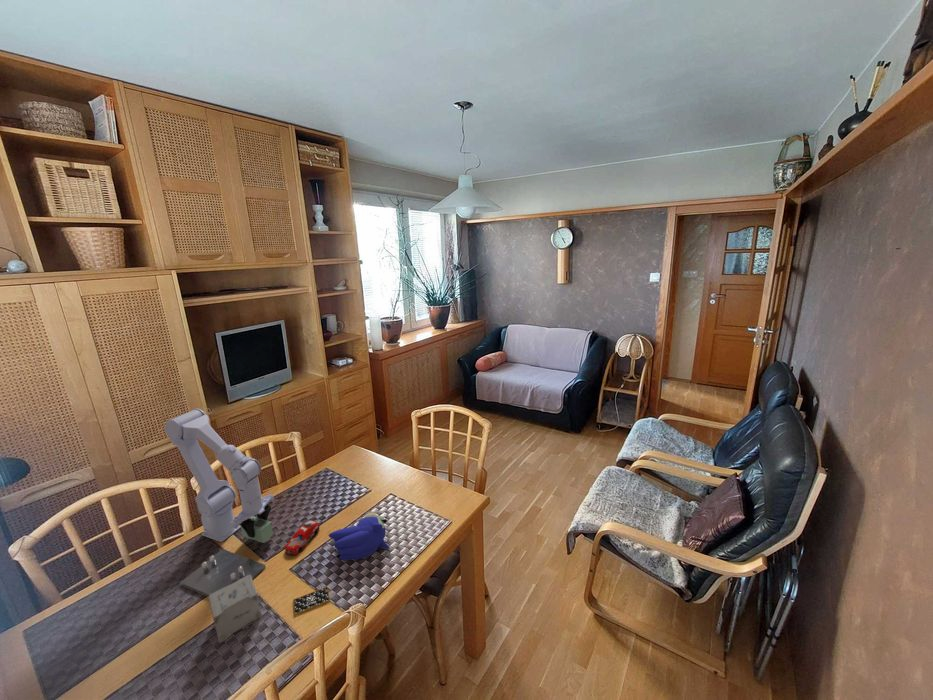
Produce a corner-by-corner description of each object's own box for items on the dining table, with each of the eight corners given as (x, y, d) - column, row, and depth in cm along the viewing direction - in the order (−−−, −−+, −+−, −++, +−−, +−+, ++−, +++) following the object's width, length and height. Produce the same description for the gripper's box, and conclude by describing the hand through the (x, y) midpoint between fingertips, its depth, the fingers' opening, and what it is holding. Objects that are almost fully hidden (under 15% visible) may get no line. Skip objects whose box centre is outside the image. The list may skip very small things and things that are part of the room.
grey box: (219, 648, 90) (211, 615, 87) (214, 623, 96) (206, 591, 93) (264, 622, 96) (257, 590, 93) (256, 600, 102) (250, 570, 99)
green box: (242, 535, 122) (239, 521, 120) (253, 527, 126) (250, 513, 124) (263, 542, 119) (260, 528, 117) (273, 534, 123) (270, 519, 121)
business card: (293, 614, 97) (293, 598, 101) (294, 617, 97) (293, 602, 102) (329, 599, 101) (327, 585, 105) (330, 602, 101) (327, 588, 106)
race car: (295, 558, 116) (294, 548, 115) (281, 554, 117) (280, 544, 116) (322, 528, 128) (321, 519, 127) (309, 525, 130) (308, 516, 128)
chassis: (181, 585, 107) (178, 574, 105) (223, 551, 118) (220, 541, 117) (225, 604, 101) (223, 593, 100) (265, 567, 112) (263, 556, 111)
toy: (371, 520, 131) (400, 537, 122) (331, 556, 119) (361, 578, 110) (364, 498, 127) (394, 513, 118) (322, 533, 115) (353, 554, 106)
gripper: (239, 514, 110) (247, 551, 114) (278, 485, 124) (284, 519, 127) (222, 508, 113) (230, 545, 116) (262, 481, 126) (268, 514, 129)
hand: (257, 531), depth 122 cm, fingers closed on green box, 4 cm apart
